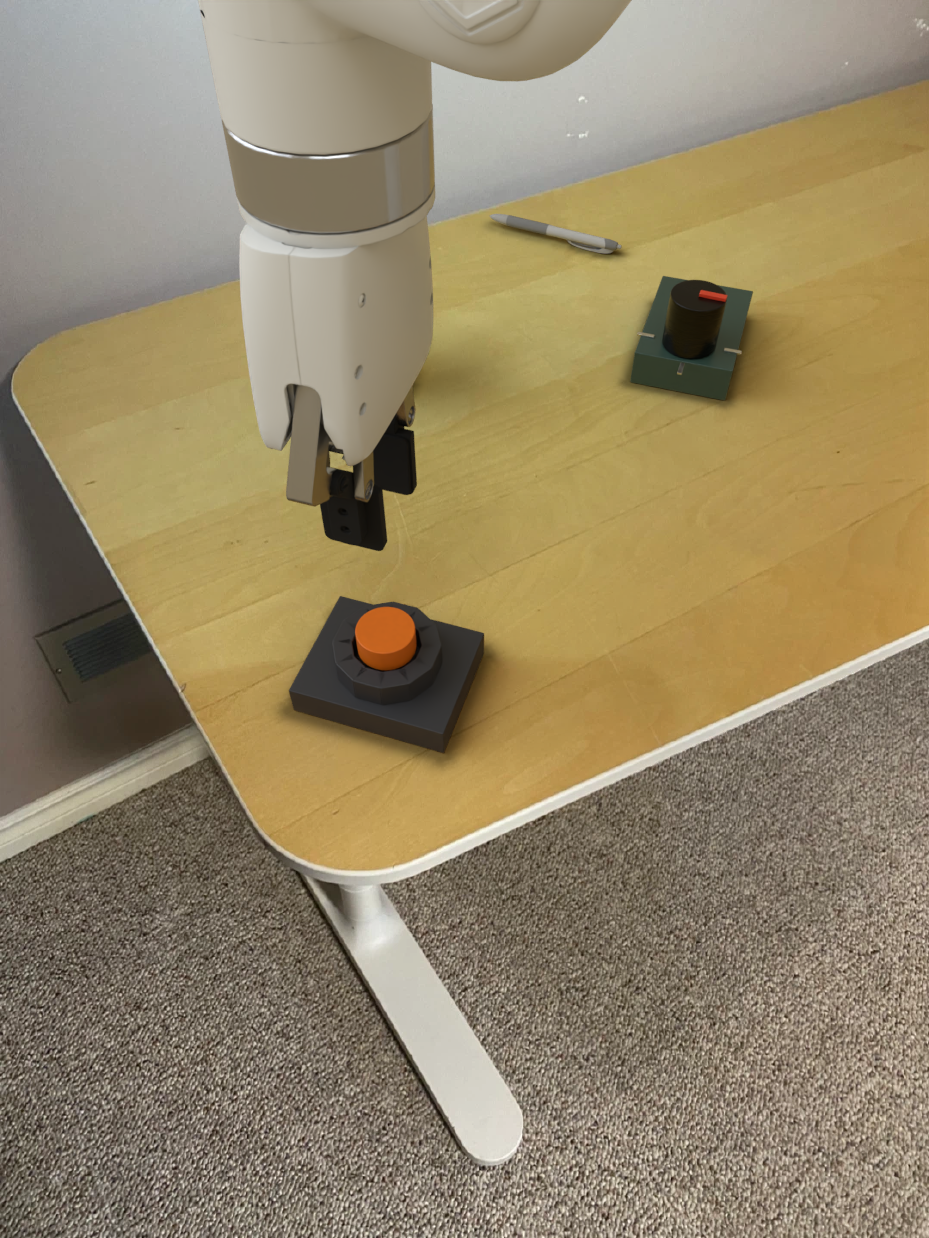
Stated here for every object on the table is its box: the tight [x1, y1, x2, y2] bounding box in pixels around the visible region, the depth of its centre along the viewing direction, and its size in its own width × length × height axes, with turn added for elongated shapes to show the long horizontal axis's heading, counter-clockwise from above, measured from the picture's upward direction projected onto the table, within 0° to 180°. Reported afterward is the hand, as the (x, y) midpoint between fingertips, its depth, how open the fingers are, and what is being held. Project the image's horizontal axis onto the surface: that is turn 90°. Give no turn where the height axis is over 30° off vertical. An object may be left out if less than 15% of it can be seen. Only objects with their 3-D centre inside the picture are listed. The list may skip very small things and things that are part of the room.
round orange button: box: [355, 607, 416, 670], centre depth 58 cm, size 4×4×2 cm
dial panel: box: [629, 275, 754, 401], centre depth 82 cm, size 14×9×3 cm, turn 162°
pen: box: [488, 213, 623, 254], centre depth 95 cm, size 1×14×1 cm, turn 65°
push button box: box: [288, 595, 485, 754], centre depth 60 cm, size 10×8×4 cm
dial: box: [662, 279, 727, 359], centre depth 77 cm, size 4×4×5 cm
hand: (372, 510), depth 50 cm, fingers open, 3 cm apart
